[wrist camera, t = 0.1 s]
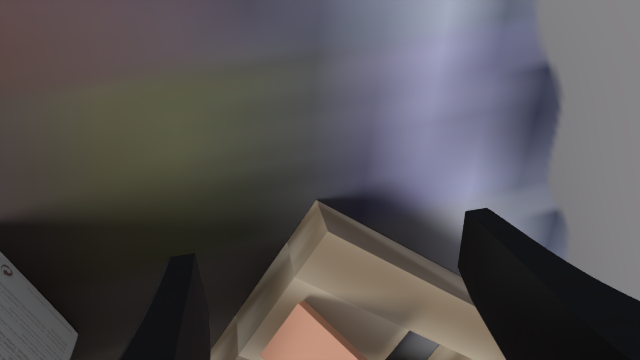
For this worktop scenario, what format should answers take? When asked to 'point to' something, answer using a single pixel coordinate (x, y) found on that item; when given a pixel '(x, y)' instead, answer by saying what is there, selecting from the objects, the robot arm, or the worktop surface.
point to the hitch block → (359, 295)
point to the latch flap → (309, 339)
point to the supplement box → (30, 321)
